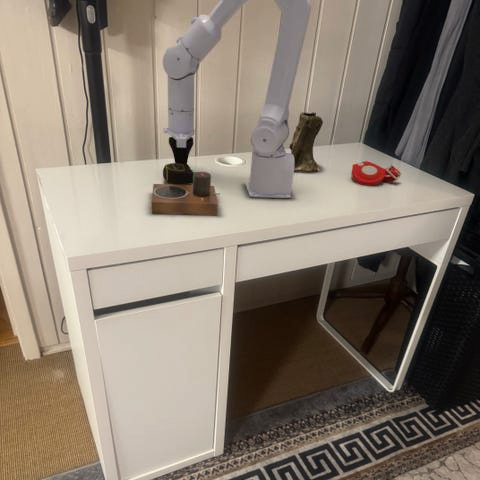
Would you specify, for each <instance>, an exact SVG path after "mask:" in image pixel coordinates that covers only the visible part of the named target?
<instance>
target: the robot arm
mask: <svg viewBox="0 0 480 480" xmlns="http://www.w3.org/2000/svg"><path fill="white" fill-rule="evenodd" d="M248 1H249V0H219V1H218V2H217V4H216V5H215V6H214V7H213V9H212V10H211V11H210V13H209V14H200V15H198V16H194V17H192V19H191V20H190V24H191V25H190V27H189V28H188V29H187V30H186V31H185V33H184V34H183V35H182V36H179V37H178V38H177V39H176V40H175V42H176V45H173V46H170V47H168V48H167V49H166V50H165V52H164V54H163V57H162V68H163V70H164V72H165V74H166V75H167V114H168V115H167V124H168V126H167V127H164V128H162V133H164V134H168V135H169V137H168V145H169V147H170V148H171V149H170V150H171V151H172V154H173V160H174V163H178V164H188V160H189V155H190V153H191V150H192V148H193V146H194V143H195V142H194V137H193V136H195V133H196V132H195V75H196V73H197V72H198V71H199V69H200V63H202V62H203V60H205V58H206V57H207V56H208V55H209V53H211V51H212V50H213V49H214V48H215V47H216V46H217V45H218V44H219V42H220V41H221V39H222V30H223V29H222V28H223V27H225V25H226V24H227V23H228V22H229V21H230V20H231V19H232V18H233V17H234V16H235V15H236V14H237V13H238V12H239V11H240V9H241V8H242V7H243V6H244V5H245V4H246V3H247V2H248ZM274 3H275V4H276V6H277V8H278V9H279V10H280V12H281V14H282V16H281V21H280V26H279V31H278V36H277V41H276V46H275V51H274V55H273V61H272V66H271V70H270V75H269V81H268V85H267V92H266V96H265V101H264V105H263V107H262V109H261V112H260V114H259V117H258V122H257V124H256V126H255V127H254V129H253V130H252V132H251V135H250V144H251V146H252V150H251V151H252V152H251V162H250V173H249V182H245V187H246V190H247V194H248V196H249V197H250V198H271V199H272V198H273V199H274V198H275V199H291V198H292V187H293V182H294V181H293V180H294V175H295V174H294V173H295V170H294V156H293V154H291V153H290V152H286V149H285V146H284V144H285V143H286V142H287V140H288V139H289V136H290V125H289V118H290V109H289V108H290V107H289V106H290V103H291V98H292V94H293V89H294V84H295V81H296V77H297V72H298V68H299V63H300V59H301V55H302V50H303V46H304V42H305V38H306V33H307V29H308V24H309V20H310V16H311V11H312V2H311V0H274Z"/></svg>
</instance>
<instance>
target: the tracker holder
mask: <svg viewBox="0 0 480 480" xmlns="http://www.w3.org/2000/svg"><path fill="white" fill-rule="evenodd" d="M351 168H352V169H351V177H352V179H353V181H354V182H356V183H357V184H359V185H363V186H375V185H378V184H380V183H382V182H388V183H389V182H391V183H393V182H395V181H396V182H397V181H398V180H399V179H400V177H402V174H403V173H402V172H401V171H400V170H399V169H397V168H396V166H395V165H393V164H392V163H390V164H389V166H388V167H386V168H383V167H381V166H380V165H378V164H376V163H374V162H371V161H367V160H365V161H361V162H357V163H354V164H352V166H351Z"/></svg>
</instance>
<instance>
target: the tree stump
mask: <svg viewBox="0 0 480 480" xmlns="http://www.w3.org/2000/svg"><path fill="white" fill-rule="evenodd" d="M323 123H324V121H323V119H322V117H321V116H319V115H317V112H310V113H308V112H306V111H305V112H300V114H299V119H298V124H297V125H296V127H295V130H294V132H293V135H292V140H291V143H290V144H289V149H290V152H291V154H293V156H294V171H298V170H302V171H313V172H316V171H317V172H320V171H321V169H320V167H319V165H318V162H316V160H315V158H314V145H315V141H316V137H317V136H318V134H319V132H320V131H321V129H322V126H323Z"/></svg>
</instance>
